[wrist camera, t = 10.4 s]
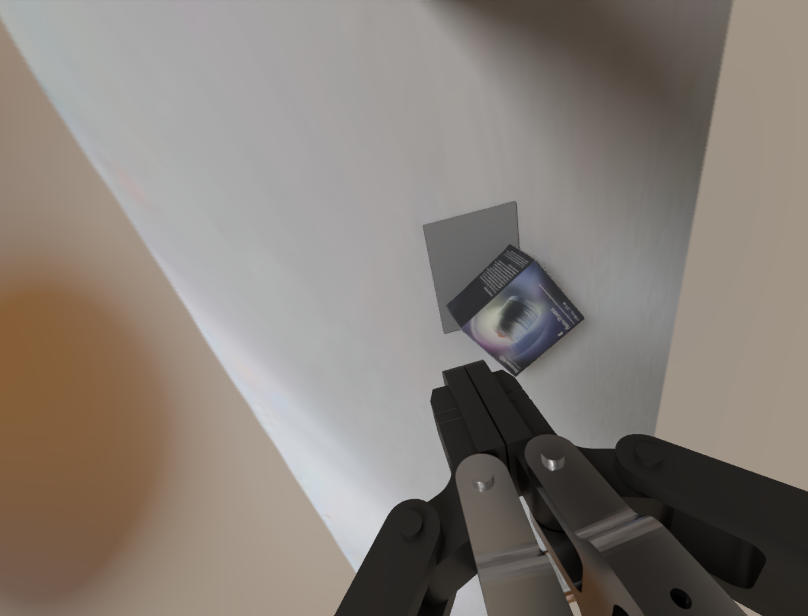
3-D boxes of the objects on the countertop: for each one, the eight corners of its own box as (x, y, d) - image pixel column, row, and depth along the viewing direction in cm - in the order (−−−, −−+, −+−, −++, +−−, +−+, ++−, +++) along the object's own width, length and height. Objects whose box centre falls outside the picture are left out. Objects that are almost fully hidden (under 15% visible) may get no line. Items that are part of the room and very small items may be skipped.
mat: (422, 225, 37) (423, 226, 37) (514, 201, 37) (515, 201, 37) (443, 332, 43) (444, 333, 43) (521, 310, 44) (523, 311, 43)
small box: (589, 320, 37) (516, 381, 40) (557, 296, 43) (495, 350, 46) (536, 259, 33) (458, 331, 36) (508, 241, 39) (443, 304, 41)
